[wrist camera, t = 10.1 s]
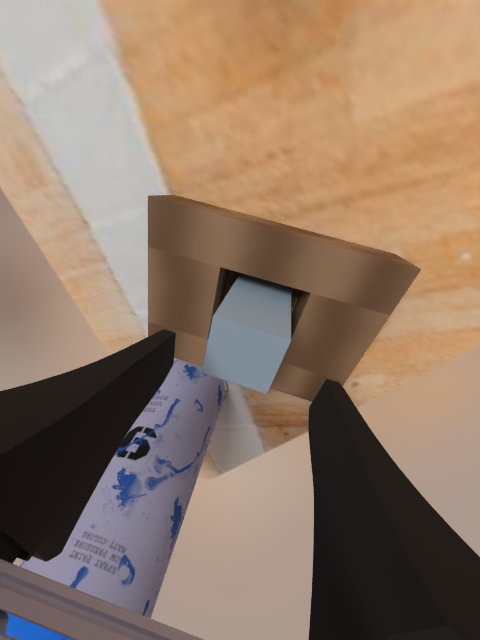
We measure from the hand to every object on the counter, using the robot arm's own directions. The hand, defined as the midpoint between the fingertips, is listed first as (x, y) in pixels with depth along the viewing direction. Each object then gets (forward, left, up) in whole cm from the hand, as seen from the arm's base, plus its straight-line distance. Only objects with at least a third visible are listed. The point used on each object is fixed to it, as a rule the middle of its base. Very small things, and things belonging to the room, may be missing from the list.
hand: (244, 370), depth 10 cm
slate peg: (0, +1, -9) cm, 9 cm away
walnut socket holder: (0, +1, -9) cm, 9 cm away
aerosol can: (+5, +13, -10) cm, 17 cm away
